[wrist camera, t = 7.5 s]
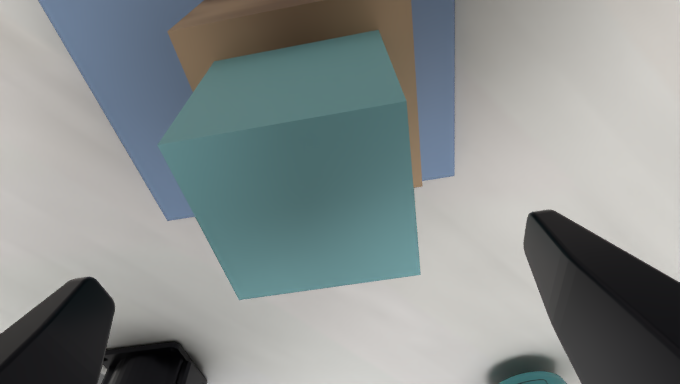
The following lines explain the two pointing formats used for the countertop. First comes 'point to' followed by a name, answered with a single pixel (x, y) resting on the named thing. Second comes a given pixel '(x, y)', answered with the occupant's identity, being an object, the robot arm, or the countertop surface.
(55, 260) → the countertop surface
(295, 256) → the teal cube
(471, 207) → the countertop surface
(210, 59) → the walnut base block
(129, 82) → the blue flat board
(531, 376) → the beverage bottle
